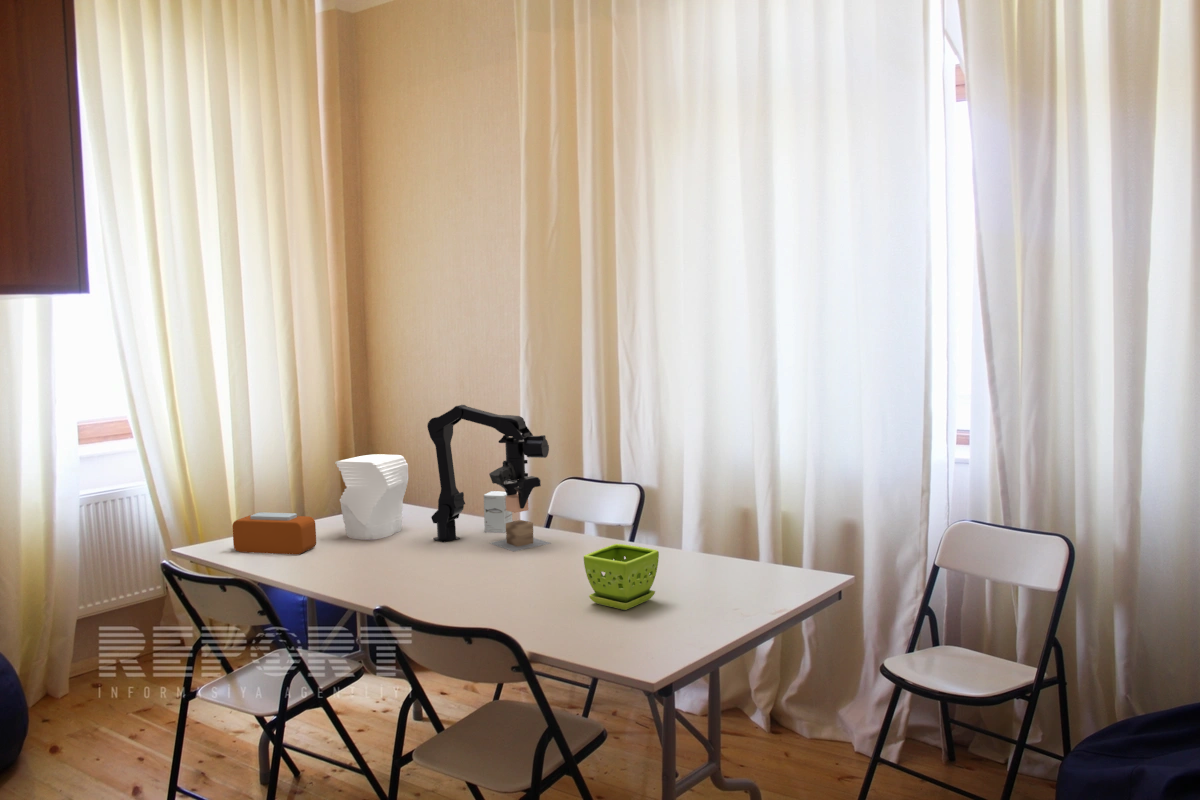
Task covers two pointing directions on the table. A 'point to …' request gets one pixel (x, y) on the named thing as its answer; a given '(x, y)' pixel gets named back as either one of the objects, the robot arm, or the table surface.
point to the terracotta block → (515, 504)
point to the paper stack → (373, 495)
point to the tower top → (519, 527)
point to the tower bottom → (519, 539)
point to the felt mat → (514, 548)
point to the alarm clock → (274, 533)
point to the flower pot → (621, 575)
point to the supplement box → (496, 512)
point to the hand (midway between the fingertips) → (517, 507)
